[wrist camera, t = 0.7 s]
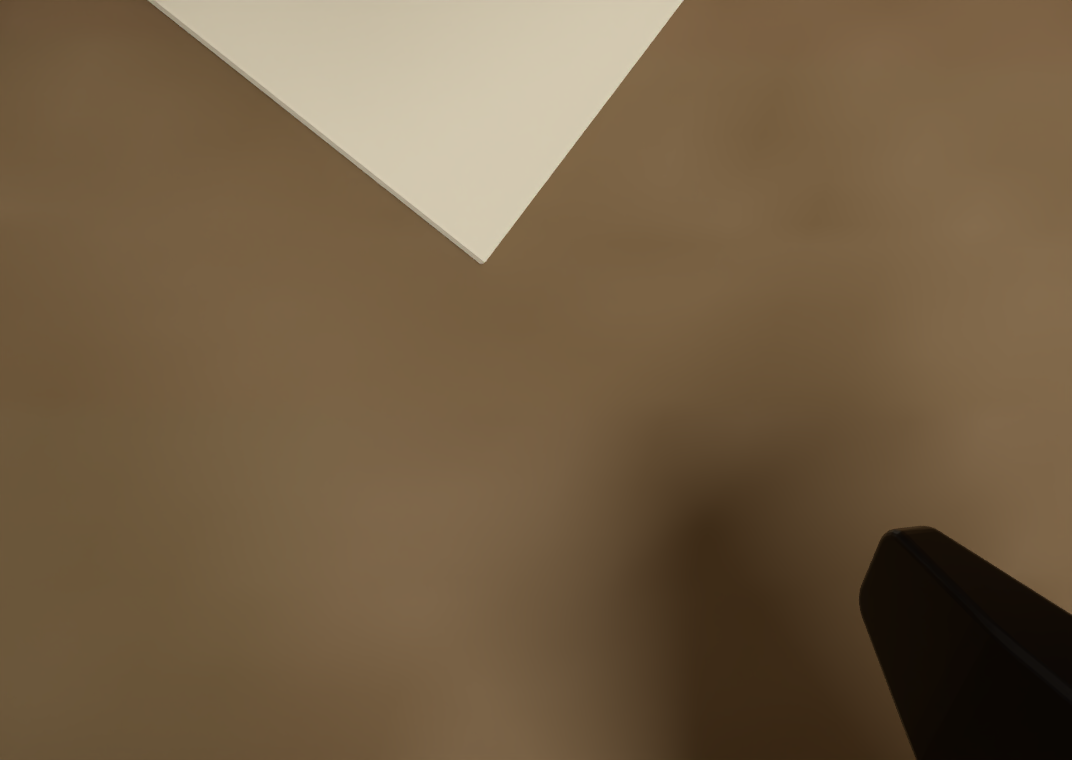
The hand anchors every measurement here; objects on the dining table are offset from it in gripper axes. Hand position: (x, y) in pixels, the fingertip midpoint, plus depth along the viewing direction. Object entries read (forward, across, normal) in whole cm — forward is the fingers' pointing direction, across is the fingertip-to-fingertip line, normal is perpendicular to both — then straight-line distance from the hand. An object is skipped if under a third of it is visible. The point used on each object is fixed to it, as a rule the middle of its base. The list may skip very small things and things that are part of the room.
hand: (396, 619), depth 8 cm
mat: (+17, -3, 0) cm, 18 cm away
